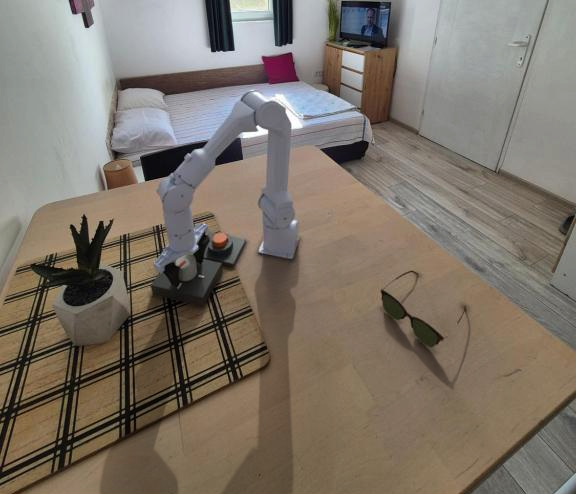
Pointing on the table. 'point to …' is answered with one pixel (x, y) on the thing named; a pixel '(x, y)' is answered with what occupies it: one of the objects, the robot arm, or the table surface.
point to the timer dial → (187, 267)
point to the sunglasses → (412, 318)
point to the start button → (219, 240)
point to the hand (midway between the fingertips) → (187, 272)
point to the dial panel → (190, 284)
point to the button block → (224, 250)
